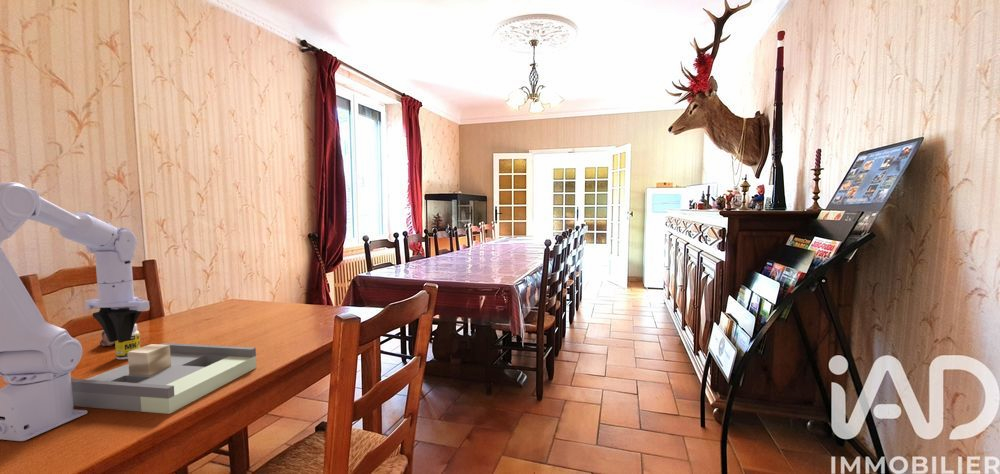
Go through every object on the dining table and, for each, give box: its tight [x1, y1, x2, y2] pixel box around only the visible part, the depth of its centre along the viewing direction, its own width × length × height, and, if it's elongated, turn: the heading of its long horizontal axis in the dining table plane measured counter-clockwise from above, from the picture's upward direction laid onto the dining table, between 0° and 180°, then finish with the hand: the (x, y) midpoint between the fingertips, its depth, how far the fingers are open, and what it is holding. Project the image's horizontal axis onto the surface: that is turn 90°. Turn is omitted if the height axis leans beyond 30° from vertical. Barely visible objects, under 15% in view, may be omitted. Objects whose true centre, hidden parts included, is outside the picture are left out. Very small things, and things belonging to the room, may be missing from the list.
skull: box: [99, 329, 115, 347], centre depth 116 cm, size 12×8×6 cm, turn 41°
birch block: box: [127, 343, 171, 375], centre depth 88 cm, size 5×5×5 cm
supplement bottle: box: [114, 323, 141, 360], centre depth 104 cm, size 5×5×8 cm
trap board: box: [71, 342, 257, 415], centre depth 88 cm, size 22×26×5 cm
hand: (120, 340), depth 89 cm, fingers closed
